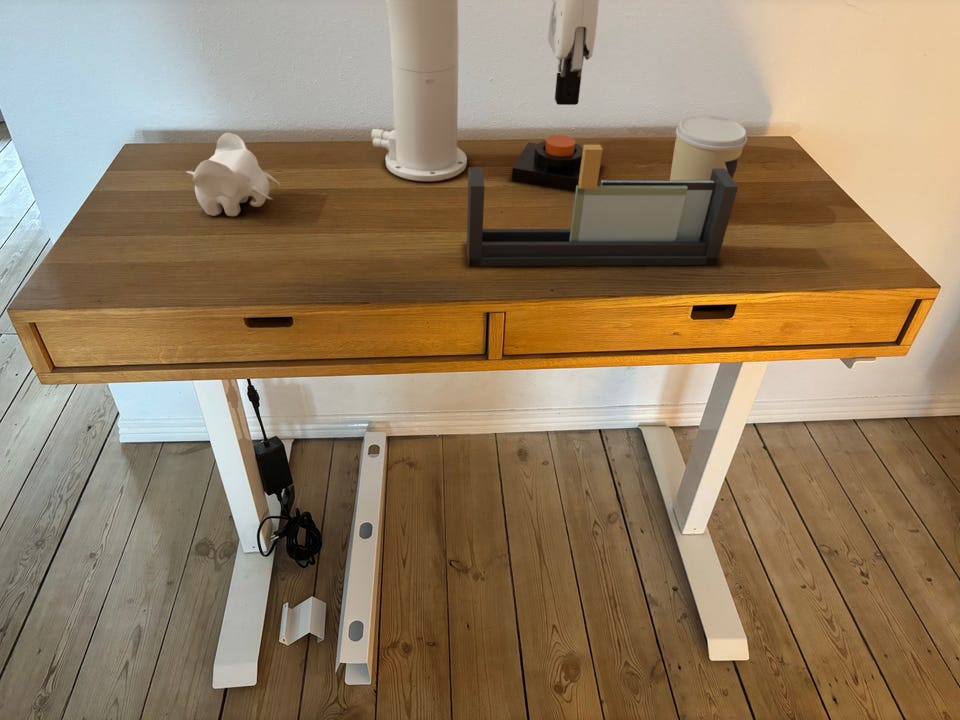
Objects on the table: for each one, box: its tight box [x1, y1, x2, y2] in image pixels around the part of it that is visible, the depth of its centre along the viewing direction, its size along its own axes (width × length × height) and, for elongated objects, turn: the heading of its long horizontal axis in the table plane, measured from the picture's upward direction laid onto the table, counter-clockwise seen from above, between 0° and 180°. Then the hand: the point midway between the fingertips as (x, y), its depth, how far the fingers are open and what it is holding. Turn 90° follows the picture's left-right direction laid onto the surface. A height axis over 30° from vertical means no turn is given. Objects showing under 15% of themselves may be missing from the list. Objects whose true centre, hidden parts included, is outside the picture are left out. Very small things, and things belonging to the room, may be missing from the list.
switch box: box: [511, 139, 604, 193], centre depth 112 cm, size 12×10×4 cm
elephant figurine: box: [186, 132, 282, 217], centre depth 99 cm, size 10×12×9 cm
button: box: [545, 134, 576, 157], centre depth 110 cm, size 4×4×2 cm
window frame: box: [466, 167, 739, 267], centre depth 92 cm, size 32×5×11 cm, turn 94°
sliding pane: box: [569, 144, 688, 242], centre depth 90 cm, size 14×1×14 cm, turn 94°
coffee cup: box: [669, 114, 748, 181], centre depth 102 cm, size 9×9×12 cm
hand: (566, 102), depth 106 cm, fingers closed
